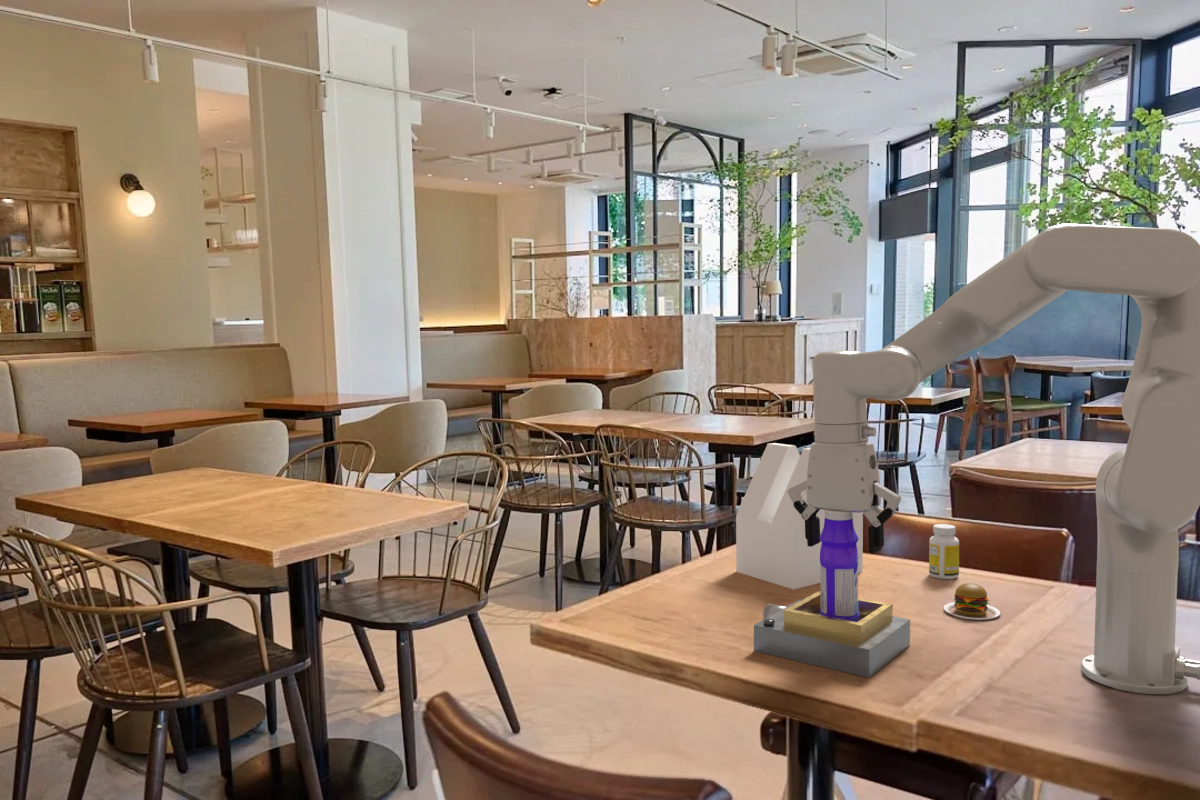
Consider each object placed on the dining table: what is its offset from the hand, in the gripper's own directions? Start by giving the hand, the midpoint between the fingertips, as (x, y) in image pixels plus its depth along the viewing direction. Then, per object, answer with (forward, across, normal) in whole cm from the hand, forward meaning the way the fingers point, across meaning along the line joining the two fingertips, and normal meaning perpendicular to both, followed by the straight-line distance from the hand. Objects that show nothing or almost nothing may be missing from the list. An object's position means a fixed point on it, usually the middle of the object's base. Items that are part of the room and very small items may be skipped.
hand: (844, 548), depth 137 cm
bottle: (+12, +1, 0) cm, 12 cm away
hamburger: (+17, -10, -29) cm, 35 cm away
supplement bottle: (+16, +1, -49) cm, 51 cm away
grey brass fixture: (+15, +4, 0) cm, 16 cm away
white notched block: (+16, +25, -36) cm, 46 cm away
